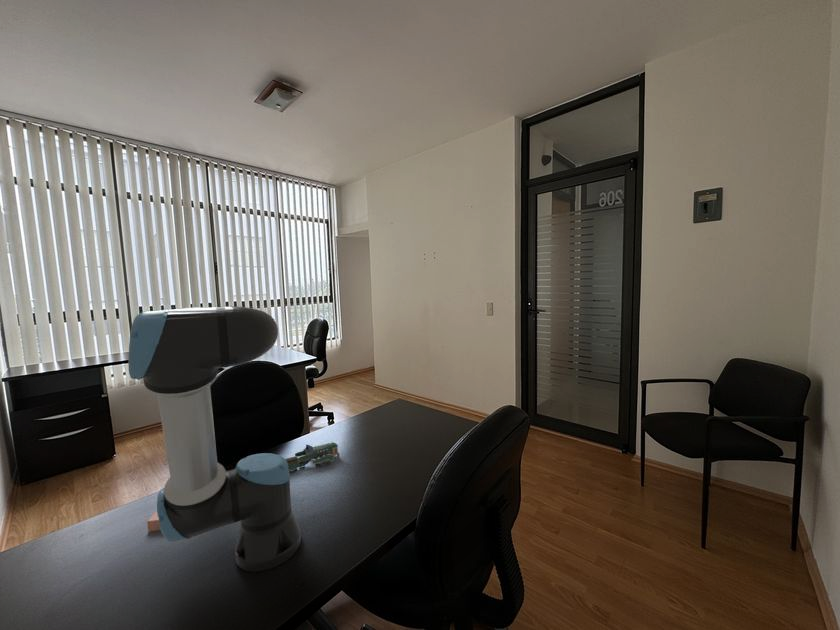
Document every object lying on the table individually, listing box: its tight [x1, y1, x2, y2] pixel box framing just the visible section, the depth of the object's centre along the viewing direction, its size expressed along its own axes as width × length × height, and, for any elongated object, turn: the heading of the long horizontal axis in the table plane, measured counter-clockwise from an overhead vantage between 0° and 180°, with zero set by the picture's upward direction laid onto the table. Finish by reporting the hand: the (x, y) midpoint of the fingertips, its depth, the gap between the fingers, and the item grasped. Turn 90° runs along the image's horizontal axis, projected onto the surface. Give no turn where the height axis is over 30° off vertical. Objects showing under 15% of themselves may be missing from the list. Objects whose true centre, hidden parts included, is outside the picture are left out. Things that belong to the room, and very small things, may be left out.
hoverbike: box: [280, 441, 341, 474], centre depth 127 cm, size 10×25×8 cm, turn 123°
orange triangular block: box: [146, 510, 161, 532], centre depth 100 cm, size 8×6×3 cm
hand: (202, 432), depth 109 cm, fingers closed
